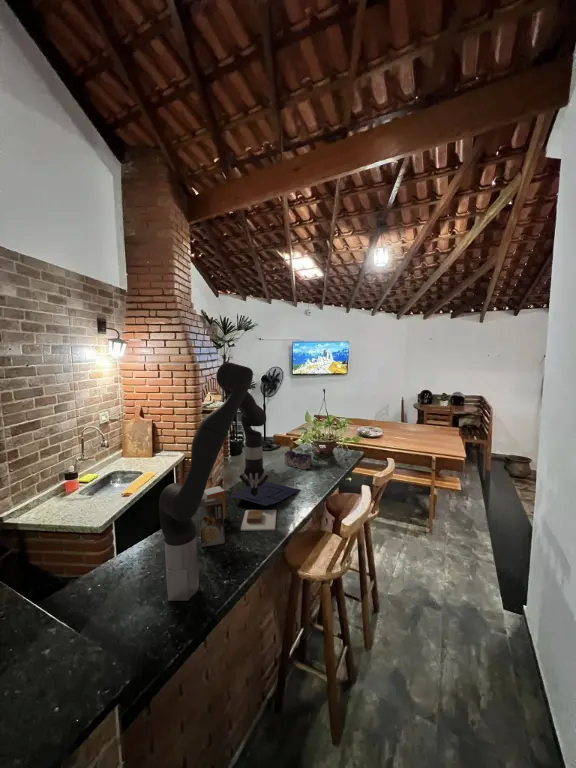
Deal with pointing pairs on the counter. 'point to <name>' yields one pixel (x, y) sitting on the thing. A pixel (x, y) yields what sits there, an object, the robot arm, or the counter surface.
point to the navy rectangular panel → (266, 493)
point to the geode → (298, 460)
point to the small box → (215, 495)
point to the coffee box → (211, 522)
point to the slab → (254, 516)
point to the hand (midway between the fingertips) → (254, 495)
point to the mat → (265, 524)
